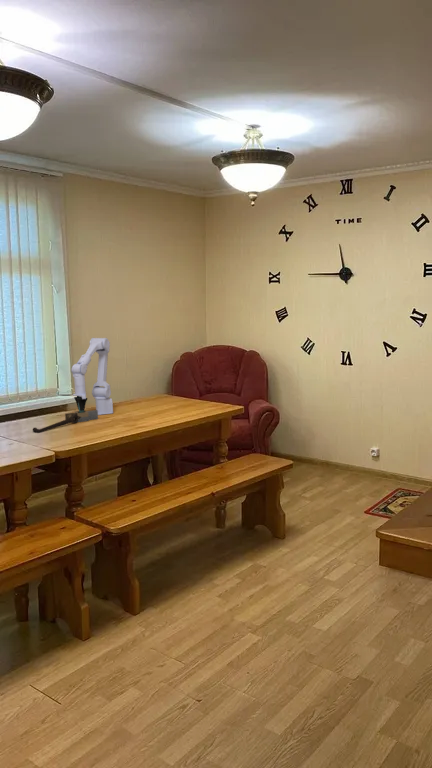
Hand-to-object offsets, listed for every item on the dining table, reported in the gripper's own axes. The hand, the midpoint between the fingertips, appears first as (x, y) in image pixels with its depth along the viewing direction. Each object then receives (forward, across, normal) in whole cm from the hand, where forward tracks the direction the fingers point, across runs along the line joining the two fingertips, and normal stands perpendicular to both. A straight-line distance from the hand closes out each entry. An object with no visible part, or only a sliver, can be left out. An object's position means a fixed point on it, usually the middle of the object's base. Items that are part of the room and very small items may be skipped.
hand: (81, 410), depth 344 cm
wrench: (+6, +9, -16) cm, 19 cm away
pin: (+3, 0, 0) cm, 3 cm away
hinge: (+6, 0, 0) cm, 6 cm away
